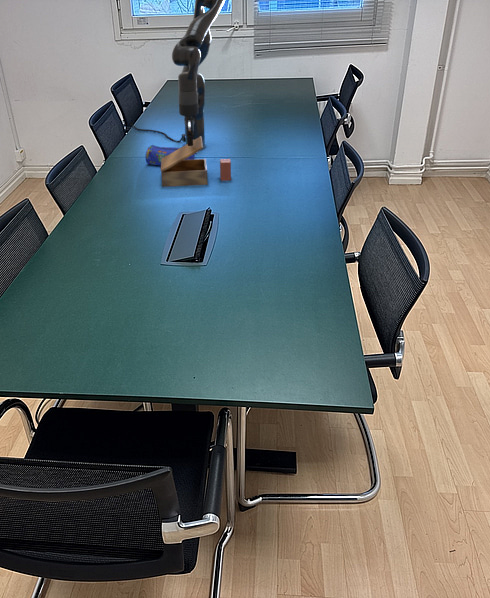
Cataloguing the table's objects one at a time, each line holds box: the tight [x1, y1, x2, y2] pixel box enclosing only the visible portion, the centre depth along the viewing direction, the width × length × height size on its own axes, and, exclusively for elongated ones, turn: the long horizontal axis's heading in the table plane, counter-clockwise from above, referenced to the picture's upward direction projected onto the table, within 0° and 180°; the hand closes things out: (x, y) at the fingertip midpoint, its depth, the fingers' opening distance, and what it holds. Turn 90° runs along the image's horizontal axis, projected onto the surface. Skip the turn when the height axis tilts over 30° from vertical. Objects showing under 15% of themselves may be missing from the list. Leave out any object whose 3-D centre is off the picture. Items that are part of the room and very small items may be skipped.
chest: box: [160, 158, 209, 188], centre depth 229 cm, size 19×14×7 cm
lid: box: [160, 136, 204, 173], centre depth 224 cm, size 19×14×1 cm
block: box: [219, 158, 232, 182], centre depth 228 cm, size 4×4×8 cm
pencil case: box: [145, 144, 198, 167], centre depth 242 cm, size 22×9×10 cm, turn 71°
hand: (190, 145), depth 223 cm, fingers closed
